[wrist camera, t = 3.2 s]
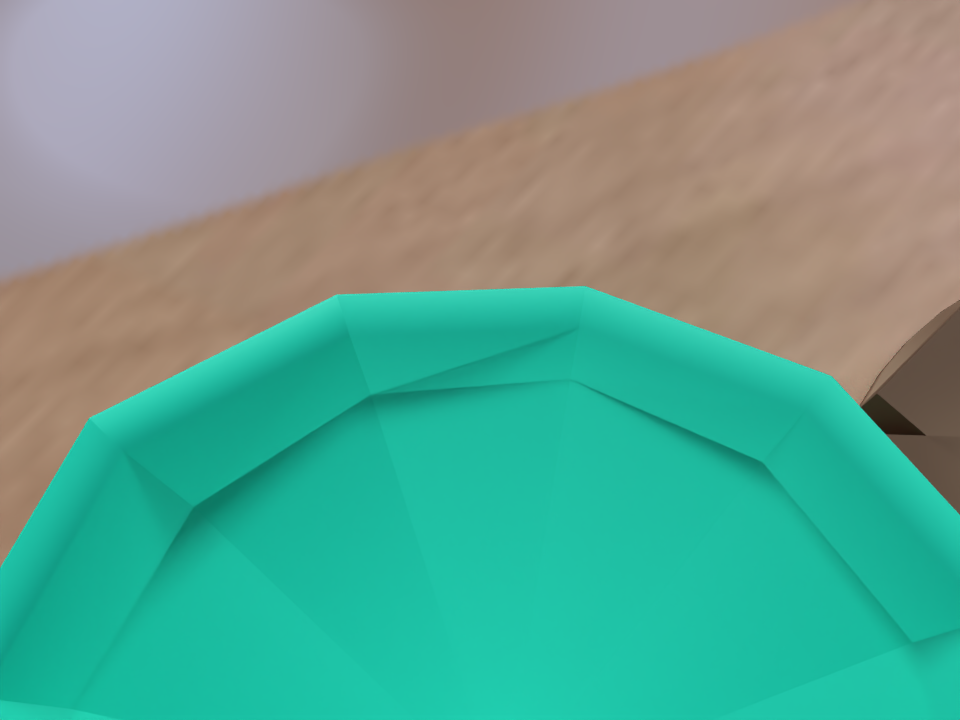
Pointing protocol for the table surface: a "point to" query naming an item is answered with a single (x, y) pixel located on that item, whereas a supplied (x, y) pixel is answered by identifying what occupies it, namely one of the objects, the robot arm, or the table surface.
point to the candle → (485, 531)
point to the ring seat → (924, 402)
